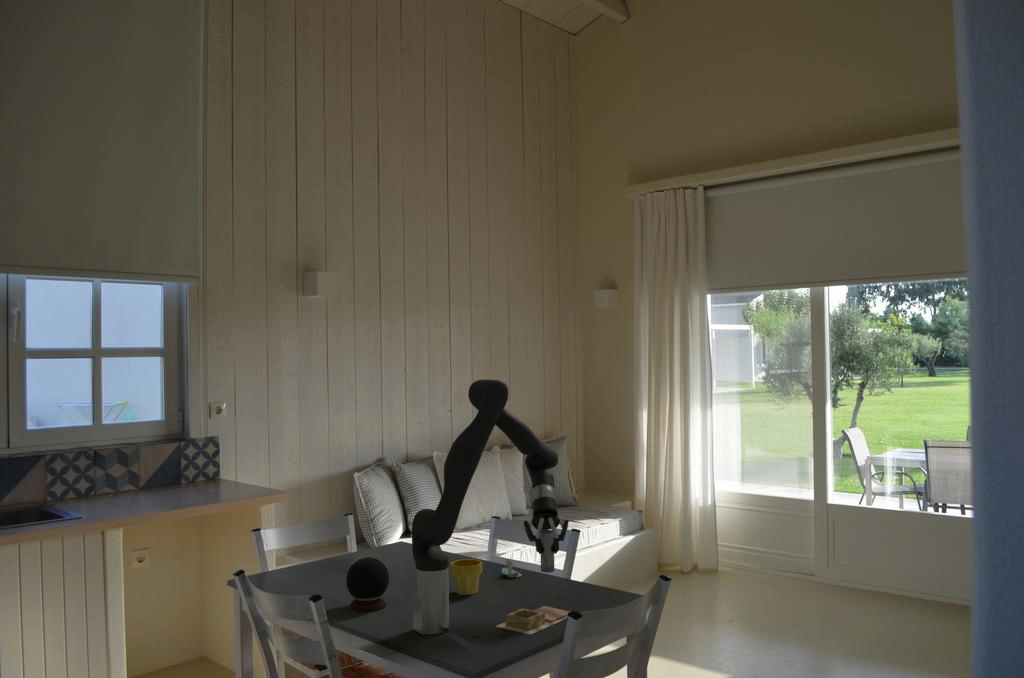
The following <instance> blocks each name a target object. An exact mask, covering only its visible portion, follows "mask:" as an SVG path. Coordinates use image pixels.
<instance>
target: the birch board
mask: <svg viewBox="0 0 1024 678" xmlns="http://www.w3.org/2000/svg"><path fill="white" fill-rule="evenodd" d="M569 612H571V610H565V609H559V608H555V607H552V606H546V605H543V606H541V607H538V608H536V609H534V610H533V609H527V608H523V607H522V608H520V609H517V610H515V611H512V612H509V613H508V614H505V622H503V623H499V624H498V625H495V627H496V628H500V629H504V630H508V631H513V632H516V633H517V632H518V633H521V634H525V635H533V634H535V633H537V632H540V631H542V630H544V629H546V628H548V627H551V626H553V625H555V624H557V623H560V622H562V621H564V620H567V619H568V618H567V617H568V613H569Z"/></svg>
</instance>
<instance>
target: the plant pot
mask: <svg viewBox="0 0 1024 678" xmlns="http://www.w3.org/2000/svg"><path fill="white" fill-rule="evenodd" d="M450 573H451V575H452V576H453V581H454V585H455V589H456V594H458V595H460V596H470V595H471V596H473V595H476V594H477V593H478V589H479V583H480V578H481V574H482V573H483V562H482V561H481V560H480V559H479V560H478V559H474V558H473V559H472V558H471V559H470V558H464V559H457V560H453V561H451V563H450Z"/></svg>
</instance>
